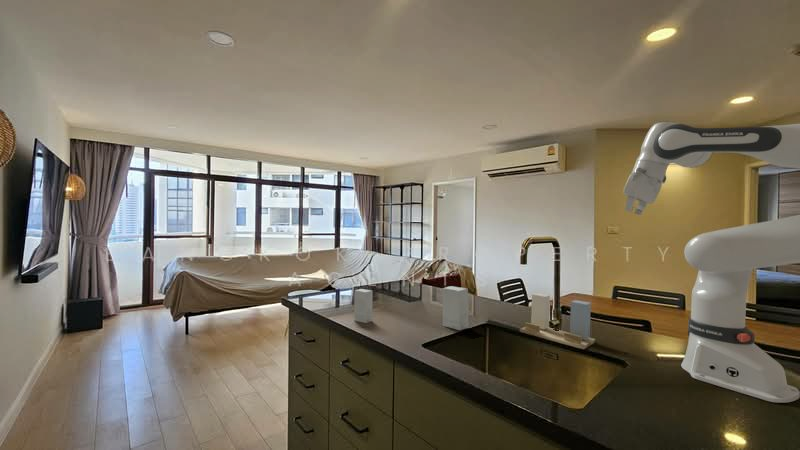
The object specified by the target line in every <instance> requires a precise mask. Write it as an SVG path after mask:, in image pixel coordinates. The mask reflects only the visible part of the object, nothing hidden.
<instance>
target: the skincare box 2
mask: <svg viewBox="0 0 800 450" xmlns="http://www.w3.org/2000/svg"><path fill="white" fill-rule="evenodd" d="M441 296H442V326H443V327H447V328H449V329H453V330H456V331H462V330H465V329H468V328H469V289H468V288H465V287H458V286H453V285H451V286H446V287H443V288H442V295H441Z"/></svg>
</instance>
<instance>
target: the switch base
mask: <svg viewBox="0 0 800 450" xmlns="http://www.w3.org/2000/svg"><path fill="white" fill-rule="evenodd" d="M553 329H554V328H553ZM553 329H552V327H549V328H547V329H544V330H543V329H540V326H539V325H535V324H531V322H525V323H524V327H521V328H519V332H520V333H523V334H527V335H530V336H534V337H538V338H541V339H545V340H548V341H551V342H556V343H559V344H563V345H567V346H569V347H570V346H571V347H573V348H577V349H582V350H585V349H587V348H588V347H591V345H594V344H595V343H596V339H595V338H592V337H590V338H588V339H587V340H582V339H581V336H578V335H574V334H570V331H569V332H567V331H566V330H565V331H564V330H560V329H558V330H559V331H555V330H553Z"/></svg>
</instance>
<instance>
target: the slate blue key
mask: <svg viewBox="0 0 800 450" xmlns="http://www.w3.org/2000/svg"><path fill="white" fill-rule="evenodd" d="M591 305H592V302H589V301H582V300H577V299H575V300H572V301H571V302H570V314H569V315H570V318H569V321H570V322H569V333H570V334H574V335H578V336H581V339H582V340H587V339H588V338H591V337H590V336H591V333H590V332H591V331H590V330H591V310H592V309H591Z"/></svg>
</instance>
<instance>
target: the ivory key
mask: <svg viewBox="0 0 800 450" xmlns="http://www.w3.org/2000/svg"><path fill="white" fill-rule="evenodd" d="M550 305H551V295H549V294H545V293H544V294H543V293H539V292H535V293H532V294H531V317H530V319H531V320H530V323H531V324H535V325H539V326H540V329H543V330H544V329H547V328H550V310H551V309H550V307H551V306H550Z"/></svg>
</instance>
